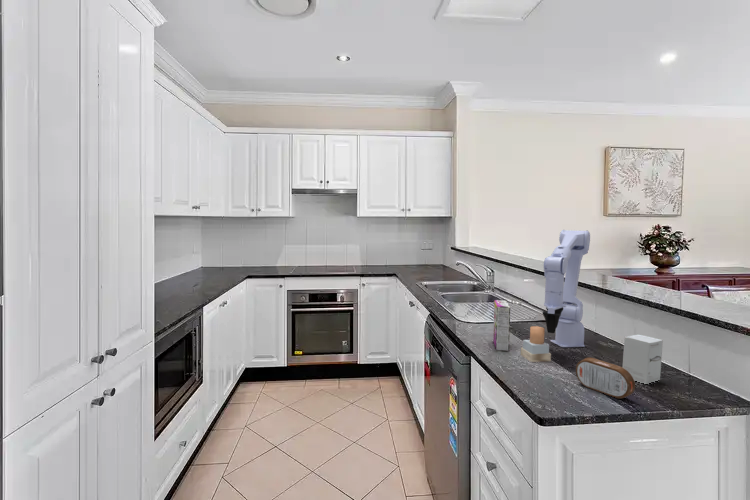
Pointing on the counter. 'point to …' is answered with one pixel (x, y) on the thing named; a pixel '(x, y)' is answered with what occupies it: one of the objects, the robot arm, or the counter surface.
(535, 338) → the light brown cylinder
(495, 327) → the candy bar box
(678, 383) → the counter surface
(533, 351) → the grey-blue top block
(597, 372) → the tin
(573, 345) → the robot arm
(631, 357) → the supplement box
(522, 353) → the birch base block
